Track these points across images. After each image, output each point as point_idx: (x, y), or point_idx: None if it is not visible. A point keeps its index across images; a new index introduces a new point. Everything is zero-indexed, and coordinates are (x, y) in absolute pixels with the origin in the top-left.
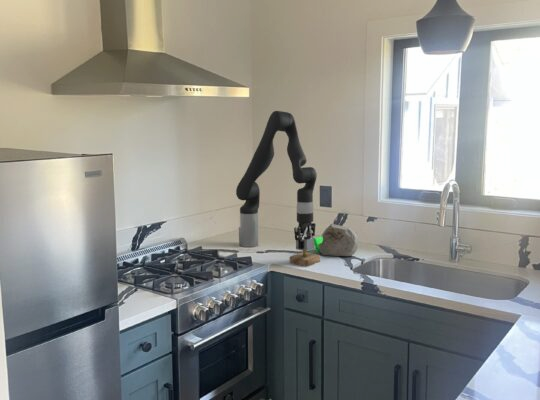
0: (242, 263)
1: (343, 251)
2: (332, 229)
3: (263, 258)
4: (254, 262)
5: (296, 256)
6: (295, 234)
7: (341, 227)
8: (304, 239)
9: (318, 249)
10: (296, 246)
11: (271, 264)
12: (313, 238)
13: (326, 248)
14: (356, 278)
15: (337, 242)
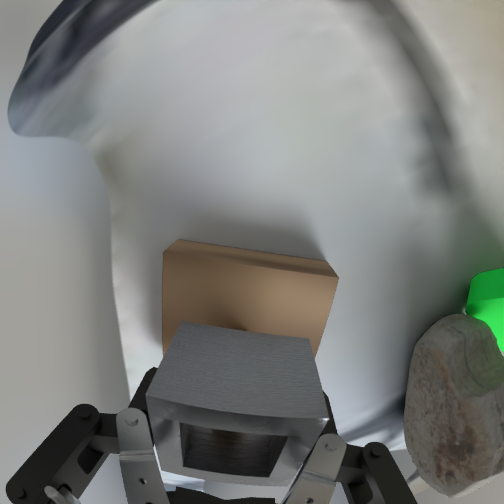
0: (72, 31)
1: (408, 425)
2: (470, 472)
3: (199, 32)
4: (101, 53)
5: (194, 296)
6: (46, 449)
7: (467, 493)
8: (171, 458)
9: (470, 293)
10: (174, 340)
11: (100, 154)
12: (274, 482)
13: (425, 378)
14: (166, 476)
15: (430, 438)
